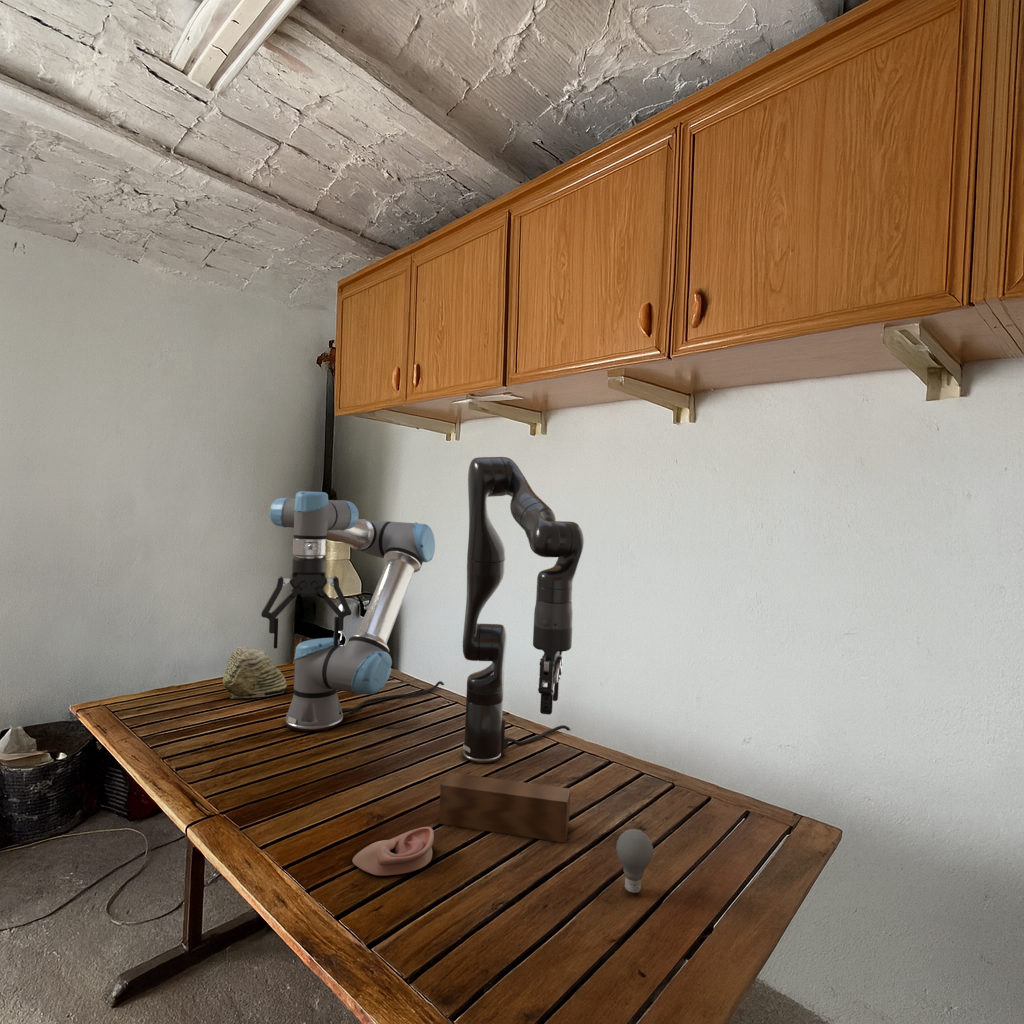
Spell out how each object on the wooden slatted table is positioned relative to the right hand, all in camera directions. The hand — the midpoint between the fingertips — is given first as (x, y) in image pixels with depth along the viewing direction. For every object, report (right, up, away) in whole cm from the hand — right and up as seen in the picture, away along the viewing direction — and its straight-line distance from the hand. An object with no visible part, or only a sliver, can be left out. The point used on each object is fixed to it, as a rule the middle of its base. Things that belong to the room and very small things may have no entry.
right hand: (549, 706), depth 123 cm
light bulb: (+13, -26, -17) cm, 34 cm away
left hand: (-56, +6, +27) cm, 63 cm away
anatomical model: (-28, -24, -11) cm, 38 cm away
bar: (-9, -24, +2) cm, 26 cm away
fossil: (-88, -19, +75) cm, 117 cm away
